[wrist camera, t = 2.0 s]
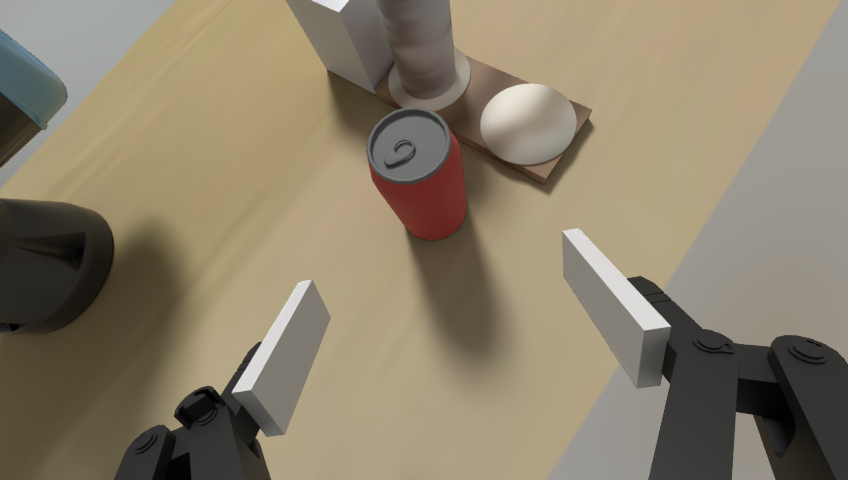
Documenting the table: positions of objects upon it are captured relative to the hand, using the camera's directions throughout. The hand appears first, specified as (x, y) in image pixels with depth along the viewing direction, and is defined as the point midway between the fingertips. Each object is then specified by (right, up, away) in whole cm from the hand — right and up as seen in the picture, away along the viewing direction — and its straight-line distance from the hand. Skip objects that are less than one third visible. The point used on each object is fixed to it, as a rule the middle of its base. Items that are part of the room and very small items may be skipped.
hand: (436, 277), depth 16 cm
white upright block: (-7, +24, +22) cm, 33 cm away
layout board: (+5, +16, +17) cm, 24 cm away
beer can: (0, +5, +15) cm, 16 cm away
